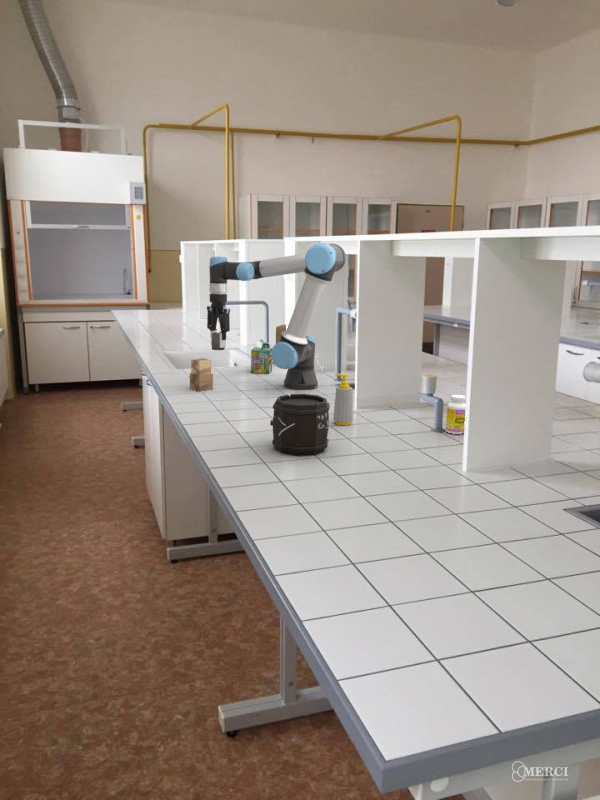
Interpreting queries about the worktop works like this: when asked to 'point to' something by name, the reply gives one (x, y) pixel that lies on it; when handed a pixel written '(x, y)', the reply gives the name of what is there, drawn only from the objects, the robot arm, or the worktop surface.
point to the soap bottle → (343, 403)
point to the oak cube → (201, 366)
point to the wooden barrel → (300, 424)
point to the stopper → (216, 342)
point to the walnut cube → (201, 382)
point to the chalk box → (261, 360)
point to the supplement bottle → (456, 415)
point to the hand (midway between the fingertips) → (218, 346)
